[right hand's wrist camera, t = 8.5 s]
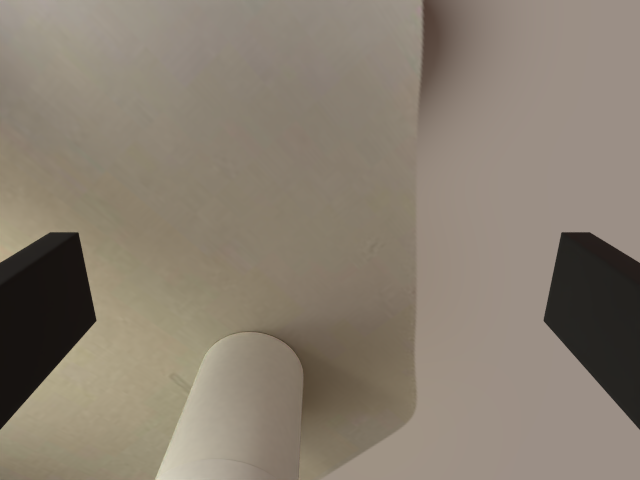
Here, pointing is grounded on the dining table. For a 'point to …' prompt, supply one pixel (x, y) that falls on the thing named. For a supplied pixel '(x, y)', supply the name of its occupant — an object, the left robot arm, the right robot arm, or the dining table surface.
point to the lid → (216, 471)
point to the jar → (243, 407)
